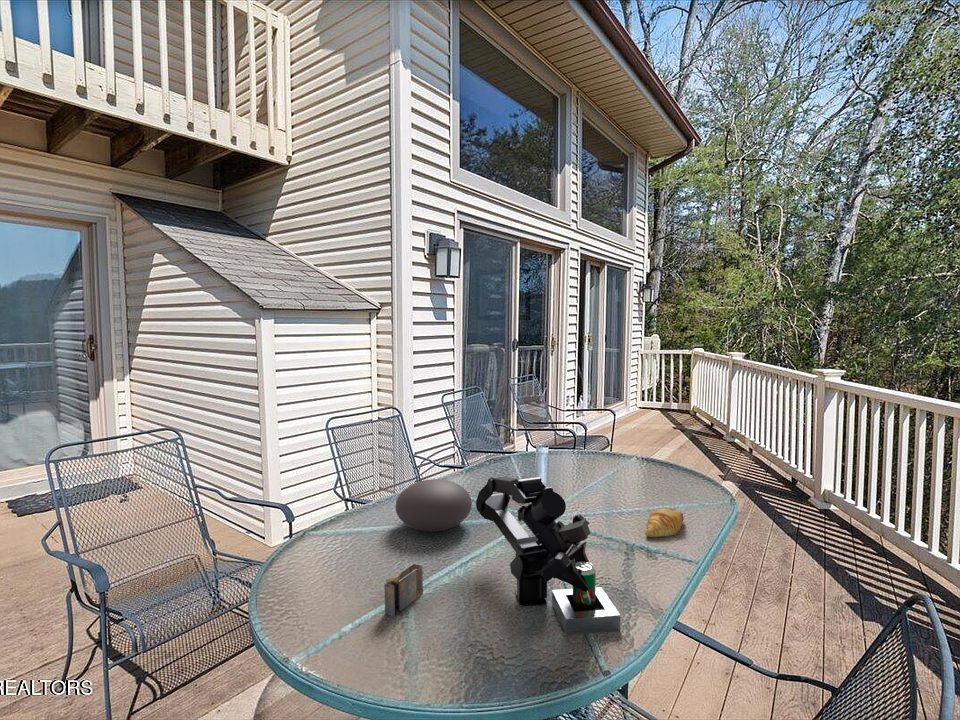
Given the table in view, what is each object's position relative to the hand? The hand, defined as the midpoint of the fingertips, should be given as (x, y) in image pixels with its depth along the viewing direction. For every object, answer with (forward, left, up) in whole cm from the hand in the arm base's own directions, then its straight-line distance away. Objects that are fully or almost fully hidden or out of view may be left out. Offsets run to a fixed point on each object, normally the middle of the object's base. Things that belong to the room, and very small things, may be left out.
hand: (590, 584), depth 116 cm
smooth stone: (-34, +57, -8) cm, 66 cm away
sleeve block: (-1, +1, -8) cm, 8 cm away
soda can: (-1, +1, -8) cm, 8 cm away
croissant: (+39, +45, -8) cm, 60 cm away
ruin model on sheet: (-42, +12, -9) cm, 44 cm away
